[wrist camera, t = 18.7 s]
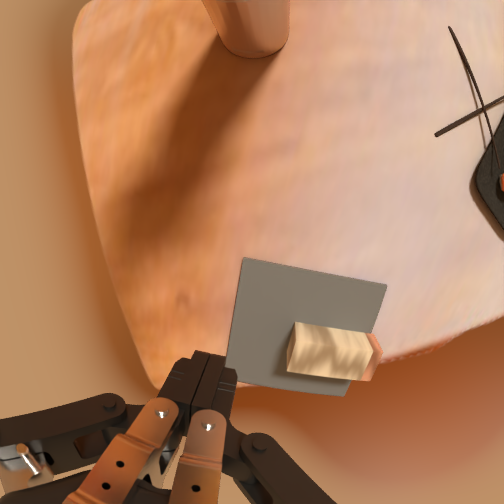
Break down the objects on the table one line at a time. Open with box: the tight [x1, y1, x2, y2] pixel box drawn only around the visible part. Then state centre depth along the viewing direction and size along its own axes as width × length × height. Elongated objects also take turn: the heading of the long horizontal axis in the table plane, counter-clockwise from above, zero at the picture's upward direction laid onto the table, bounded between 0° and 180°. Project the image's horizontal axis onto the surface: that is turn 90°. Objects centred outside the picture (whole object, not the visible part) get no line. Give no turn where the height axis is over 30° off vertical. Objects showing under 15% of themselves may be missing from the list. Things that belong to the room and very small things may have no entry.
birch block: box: [287, 322, 383, 381], centre depth 37 cm, size 5×5×12 cm
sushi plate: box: [435, 26, 504, 229], centre depth 27 cm, size 29×30×4 cm
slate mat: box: [225, 257, 387, 396], centre depth 40 cm, size 20×20×1 cm
